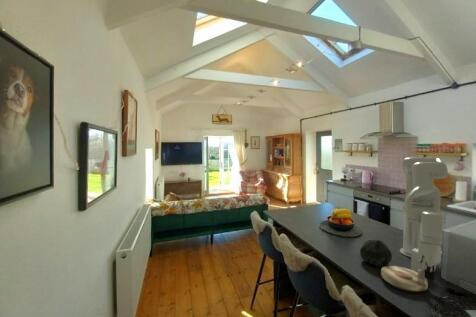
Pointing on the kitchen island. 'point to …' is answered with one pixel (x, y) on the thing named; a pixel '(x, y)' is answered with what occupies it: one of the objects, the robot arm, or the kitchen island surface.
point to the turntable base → (403, 289)
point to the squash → (376, 253)
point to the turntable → (405, 278)
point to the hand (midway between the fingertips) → (429, 278)
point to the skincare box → (415, 261)
